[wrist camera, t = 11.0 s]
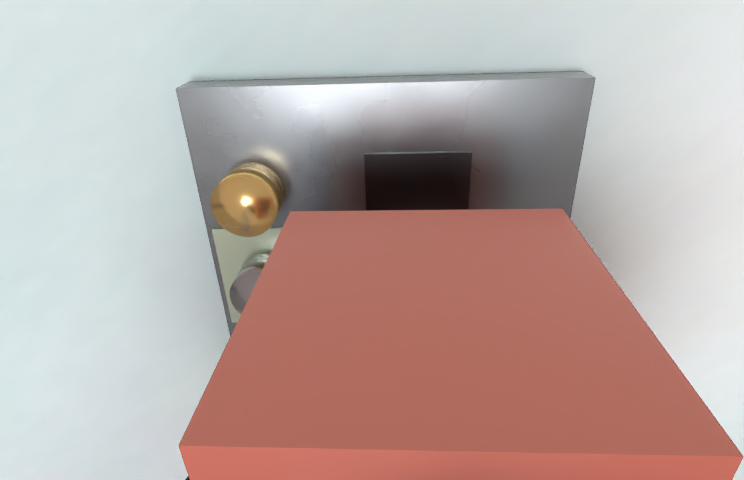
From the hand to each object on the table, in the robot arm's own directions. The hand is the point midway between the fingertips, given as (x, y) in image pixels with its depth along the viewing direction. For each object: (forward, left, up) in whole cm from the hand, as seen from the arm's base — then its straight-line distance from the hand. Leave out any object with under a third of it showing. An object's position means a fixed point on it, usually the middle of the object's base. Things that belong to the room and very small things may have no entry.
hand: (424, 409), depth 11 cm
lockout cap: (0, 0, -2) cm, 2 cm away
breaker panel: (-1, +1, -6) cm, 6 cm away
